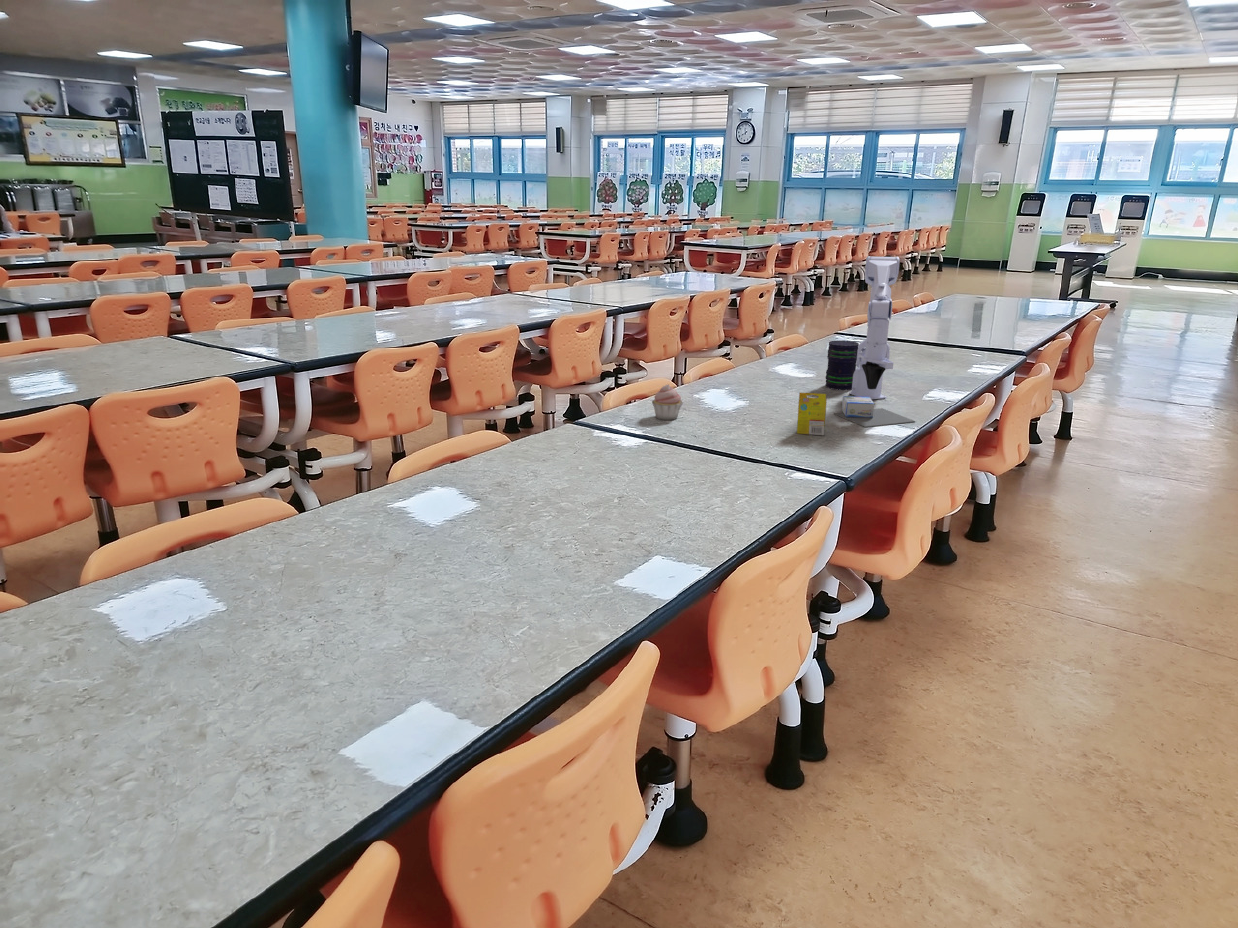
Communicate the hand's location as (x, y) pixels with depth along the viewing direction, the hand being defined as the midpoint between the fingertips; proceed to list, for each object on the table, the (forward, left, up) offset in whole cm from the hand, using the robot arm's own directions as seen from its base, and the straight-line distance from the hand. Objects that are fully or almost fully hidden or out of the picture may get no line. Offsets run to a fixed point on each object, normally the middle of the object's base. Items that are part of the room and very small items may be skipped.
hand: (871, 388), depth 243 cm
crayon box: (+10, -26, -9) cm, 29 cm away
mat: (+2, 0, -8) cm, 9 cm away
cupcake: (-18, -57, -9) cm, 60 cm away
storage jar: (-35, +13, -9) cm, 38 cm away
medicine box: (-6, -1, -6) cm, 9 cm away
